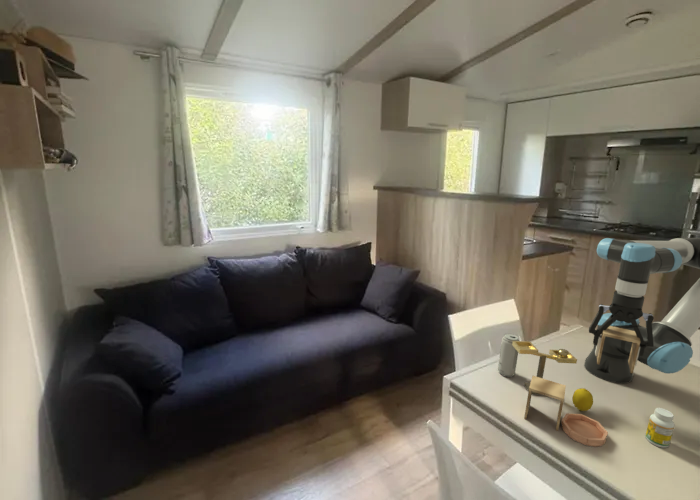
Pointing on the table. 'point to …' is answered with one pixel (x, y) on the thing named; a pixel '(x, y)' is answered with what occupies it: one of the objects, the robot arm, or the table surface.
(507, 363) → the energy drink can
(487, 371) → the table surface
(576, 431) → the saucer
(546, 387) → the oak cover
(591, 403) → the lemon
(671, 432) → the supplement bottle
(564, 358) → the balance
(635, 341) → the oak cover
